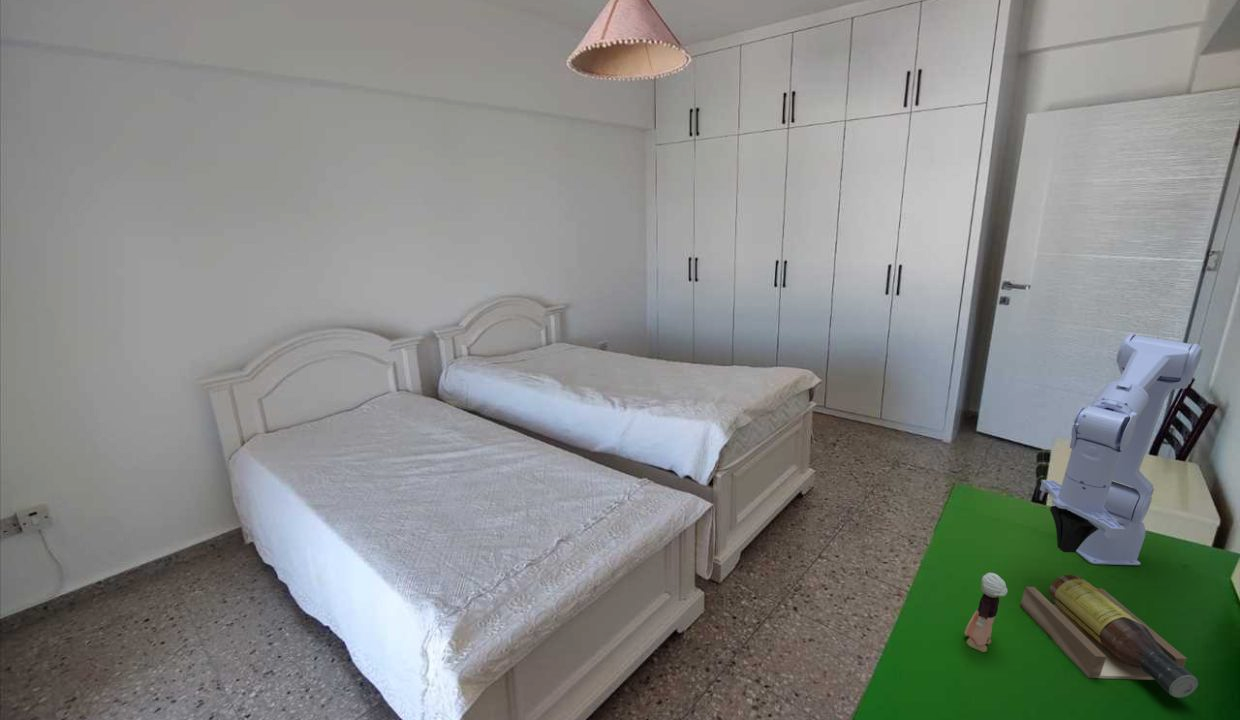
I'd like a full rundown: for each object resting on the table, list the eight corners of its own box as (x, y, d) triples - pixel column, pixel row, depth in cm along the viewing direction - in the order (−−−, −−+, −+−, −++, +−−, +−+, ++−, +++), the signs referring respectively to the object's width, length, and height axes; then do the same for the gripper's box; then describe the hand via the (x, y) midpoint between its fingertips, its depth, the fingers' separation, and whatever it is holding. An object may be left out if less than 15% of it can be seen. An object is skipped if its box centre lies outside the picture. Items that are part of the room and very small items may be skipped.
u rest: (1096, 607, 92) (1102, 588, 91) (1178, 680, 78) (1187, 658, 77) (1020, 605, 92) (1025, 586, 91) (1088, 677, 78) (1096, 656, 77)
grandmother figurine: (967, 623, 88) (982, 558, 85) (994, 634, 86) (1012, 568, 82) (959, 652, 83) (976, 584, 79) (989, 665, 80) (1007, 595, 77)
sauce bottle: (1079, 598, 93) (1202, 704, 74) (1044, 603, 93) (1157, 710, 74) (1084, 567, 91) (1212, 669, 72) (1048, 573, 91) (1166, 675, 72)
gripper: (1030, 457, 94) (1013, 524, 98) (1099, 502, 80) (1076, 578, 84) (1071, 458, 94) (1052, 525, 98) (1147, 503, 80) (1121, 579, 84)
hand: (1066, 549), depth 91 cm, fingers closed
